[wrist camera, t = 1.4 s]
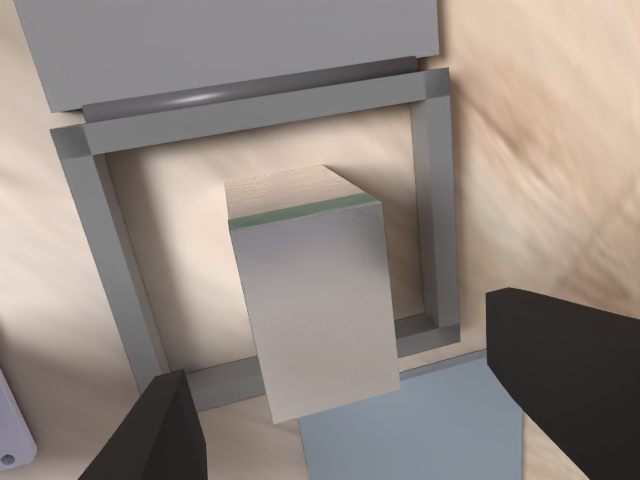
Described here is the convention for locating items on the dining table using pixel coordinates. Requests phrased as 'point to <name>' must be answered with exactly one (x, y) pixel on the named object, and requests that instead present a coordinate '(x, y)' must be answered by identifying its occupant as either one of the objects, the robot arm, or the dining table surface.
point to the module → (314, 288)
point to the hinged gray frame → (239, 125)
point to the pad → (421, 429)
